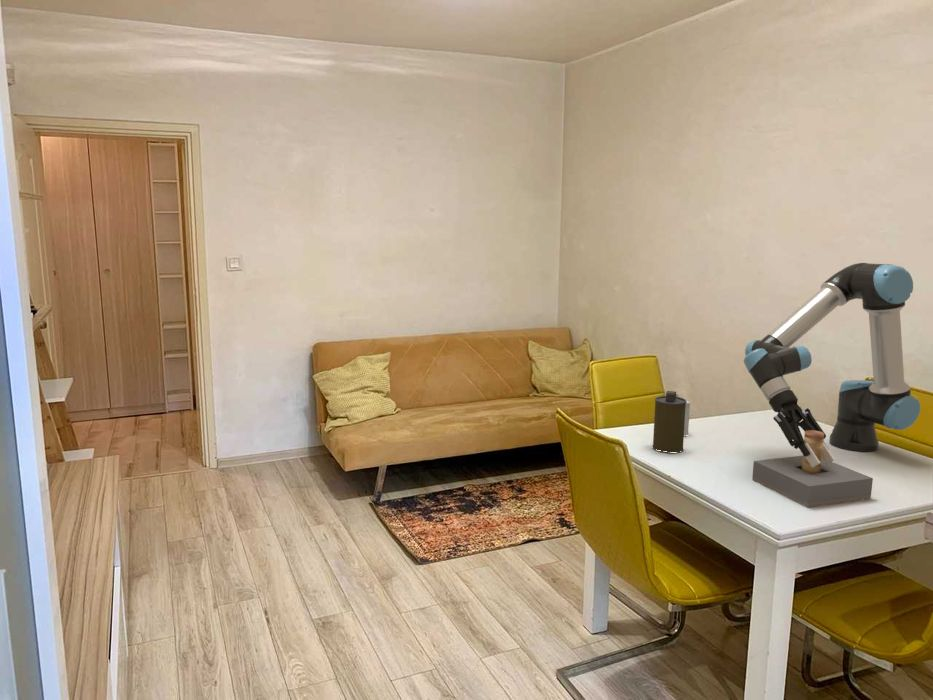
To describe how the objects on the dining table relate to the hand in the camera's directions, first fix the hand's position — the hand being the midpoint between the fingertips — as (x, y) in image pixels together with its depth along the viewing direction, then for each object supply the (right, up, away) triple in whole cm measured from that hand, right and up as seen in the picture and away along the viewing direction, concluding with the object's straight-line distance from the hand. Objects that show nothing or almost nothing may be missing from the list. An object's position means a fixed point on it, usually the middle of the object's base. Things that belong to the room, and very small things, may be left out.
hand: (823, 463), depth 201 cm
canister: (-32, -2, +42) cm, 53 cm away
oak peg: (-2, -7, +5) cm, 9 cm away
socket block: (-2, -8, +5) cm, 10 cm away
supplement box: (-25, +1, +60) cm, 64 cm away
